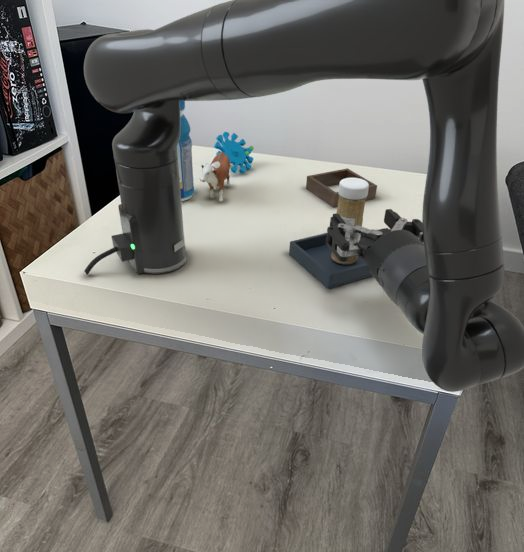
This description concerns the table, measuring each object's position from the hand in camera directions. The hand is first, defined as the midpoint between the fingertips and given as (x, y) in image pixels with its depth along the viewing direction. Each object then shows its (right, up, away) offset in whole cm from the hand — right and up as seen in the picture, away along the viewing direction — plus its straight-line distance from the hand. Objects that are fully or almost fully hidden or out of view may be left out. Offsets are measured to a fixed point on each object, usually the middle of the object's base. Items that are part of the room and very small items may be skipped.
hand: (360, 217), depth 80 cm
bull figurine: (-24, +12, +30) cm, 40 cm away
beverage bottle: (-33, +12, +29) cm, 46 cm away
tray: (-1, -5, +10) cm, 11 cm away
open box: (+2, +13, +32) cm, 34 cm away
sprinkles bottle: (-1, -5, +9) cm, 11 cm away
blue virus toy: (-21, +22, +41) cm, 51 cm away
